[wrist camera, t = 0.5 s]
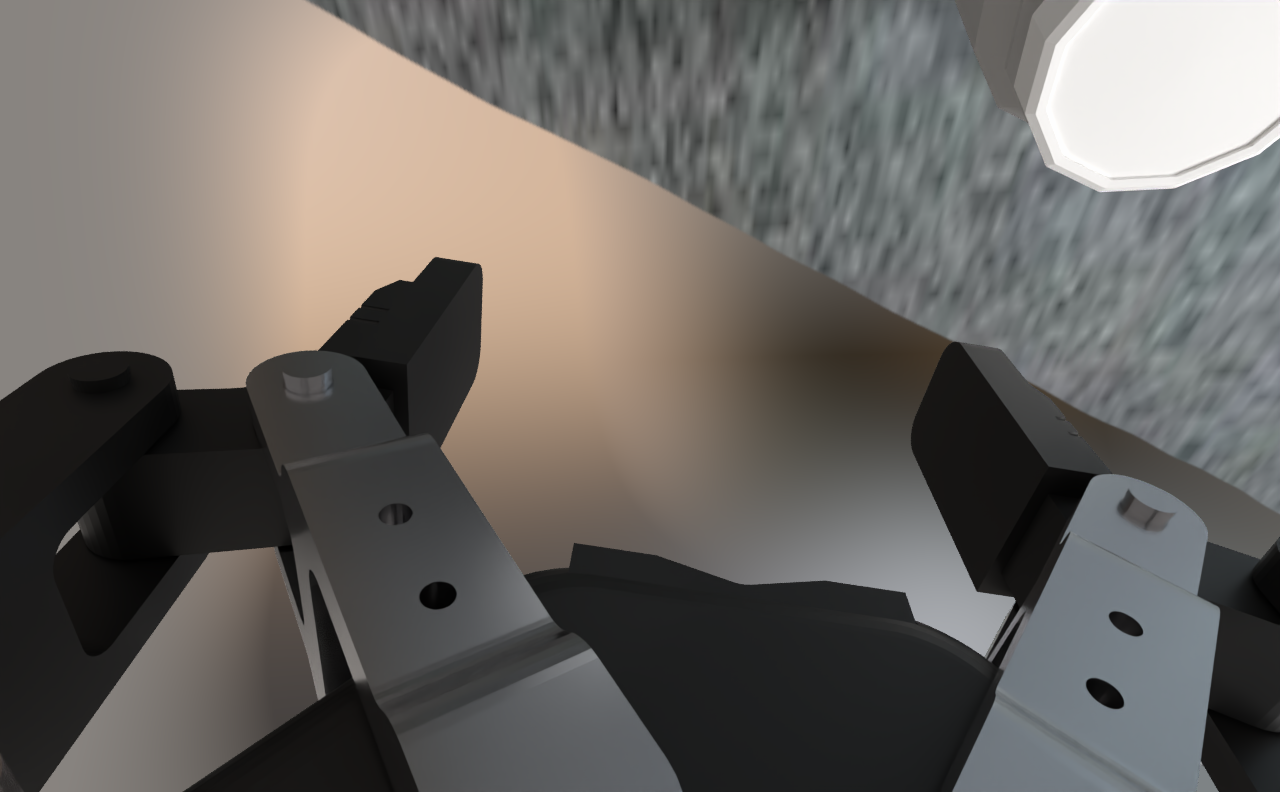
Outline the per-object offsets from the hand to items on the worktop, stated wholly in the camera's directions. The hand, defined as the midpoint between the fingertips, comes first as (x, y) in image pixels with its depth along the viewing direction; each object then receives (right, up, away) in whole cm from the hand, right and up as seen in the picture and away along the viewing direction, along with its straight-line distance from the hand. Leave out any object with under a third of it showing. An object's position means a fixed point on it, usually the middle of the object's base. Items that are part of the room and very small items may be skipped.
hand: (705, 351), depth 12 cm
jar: (+17, +22, +19) cm, 34 cm away
